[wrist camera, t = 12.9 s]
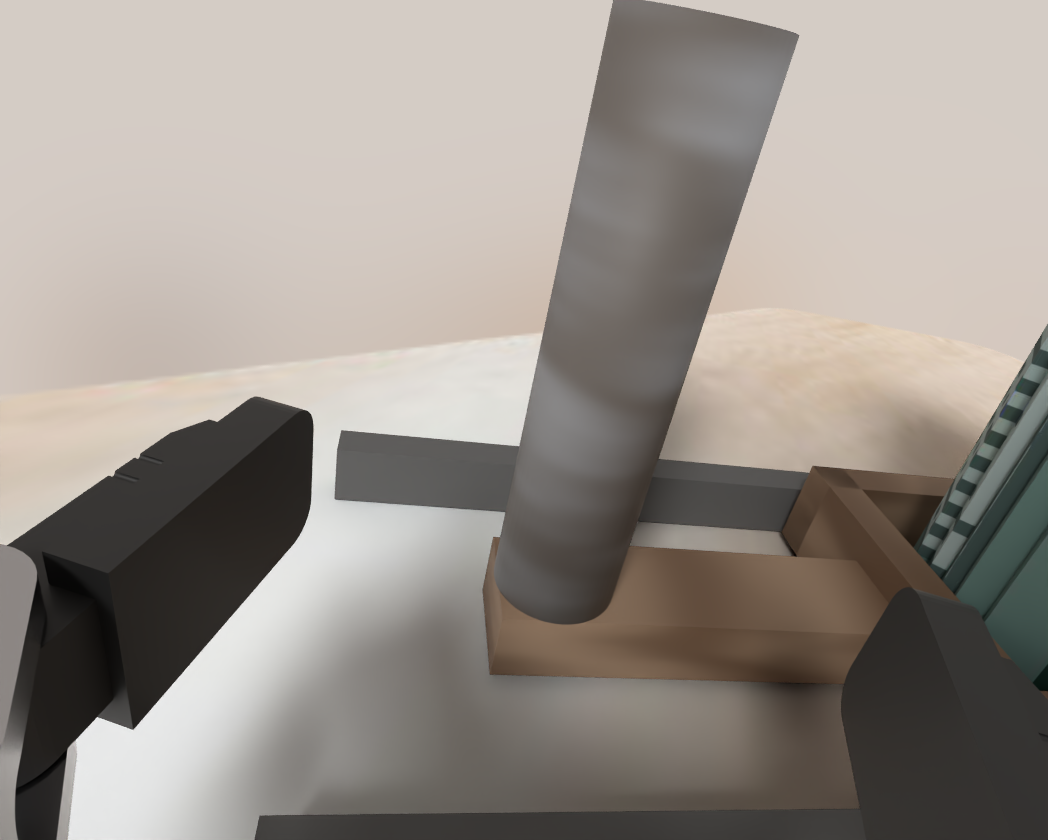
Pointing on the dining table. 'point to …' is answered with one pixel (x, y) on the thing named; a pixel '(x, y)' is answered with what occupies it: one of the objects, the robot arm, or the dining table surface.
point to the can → (1003, 523)
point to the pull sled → (673, 402)
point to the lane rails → (484, 484)
